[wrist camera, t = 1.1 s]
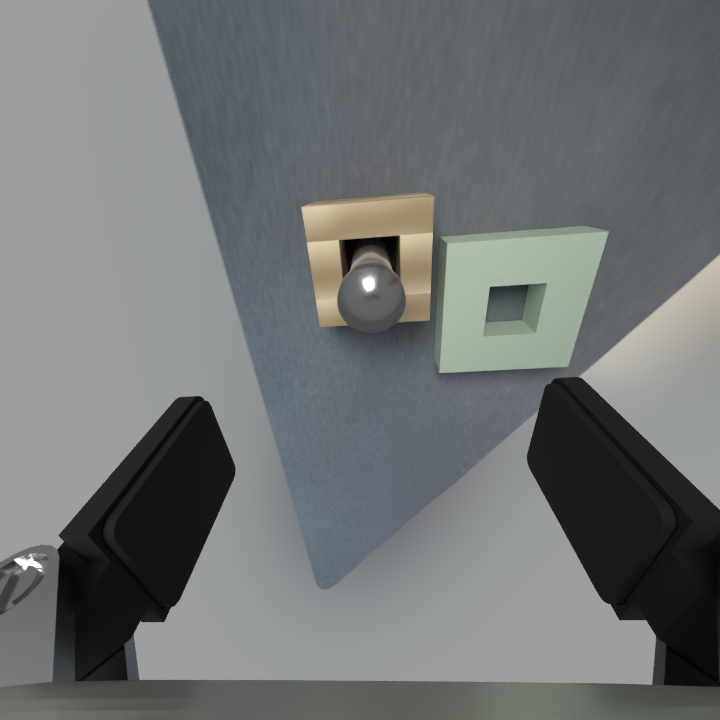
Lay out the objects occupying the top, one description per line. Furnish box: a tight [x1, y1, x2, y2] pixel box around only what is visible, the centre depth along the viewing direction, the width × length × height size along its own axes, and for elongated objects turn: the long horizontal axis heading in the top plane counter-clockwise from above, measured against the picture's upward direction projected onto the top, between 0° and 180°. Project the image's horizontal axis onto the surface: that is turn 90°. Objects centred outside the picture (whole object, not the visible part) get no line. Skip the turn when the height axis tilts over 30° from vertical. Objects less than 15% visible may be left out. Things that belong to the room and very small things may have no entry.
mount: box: [302, 192, 434, 327], centre depth 26 cm, size 9×9×5 cm
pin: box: [337, 237, 406, 333], centre depth 23 cm, size 4×4×12 cm
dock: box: [434, 226, 609, 373], centre depth 28 cm, size 12×12×3 cm
